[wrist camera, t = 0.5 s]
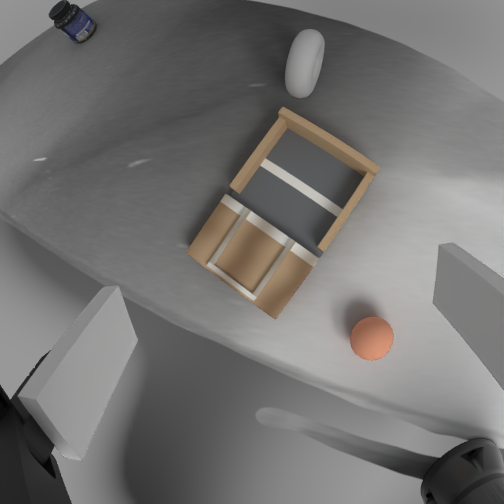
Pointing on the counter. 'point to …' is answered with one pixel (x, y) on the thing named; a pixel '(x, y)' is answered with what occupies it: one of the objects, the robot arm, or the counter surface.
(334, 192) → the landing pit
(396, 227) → the counter surface
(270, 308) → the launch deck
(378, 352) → the ball
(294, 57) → the donut
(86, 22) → the pill bottle
